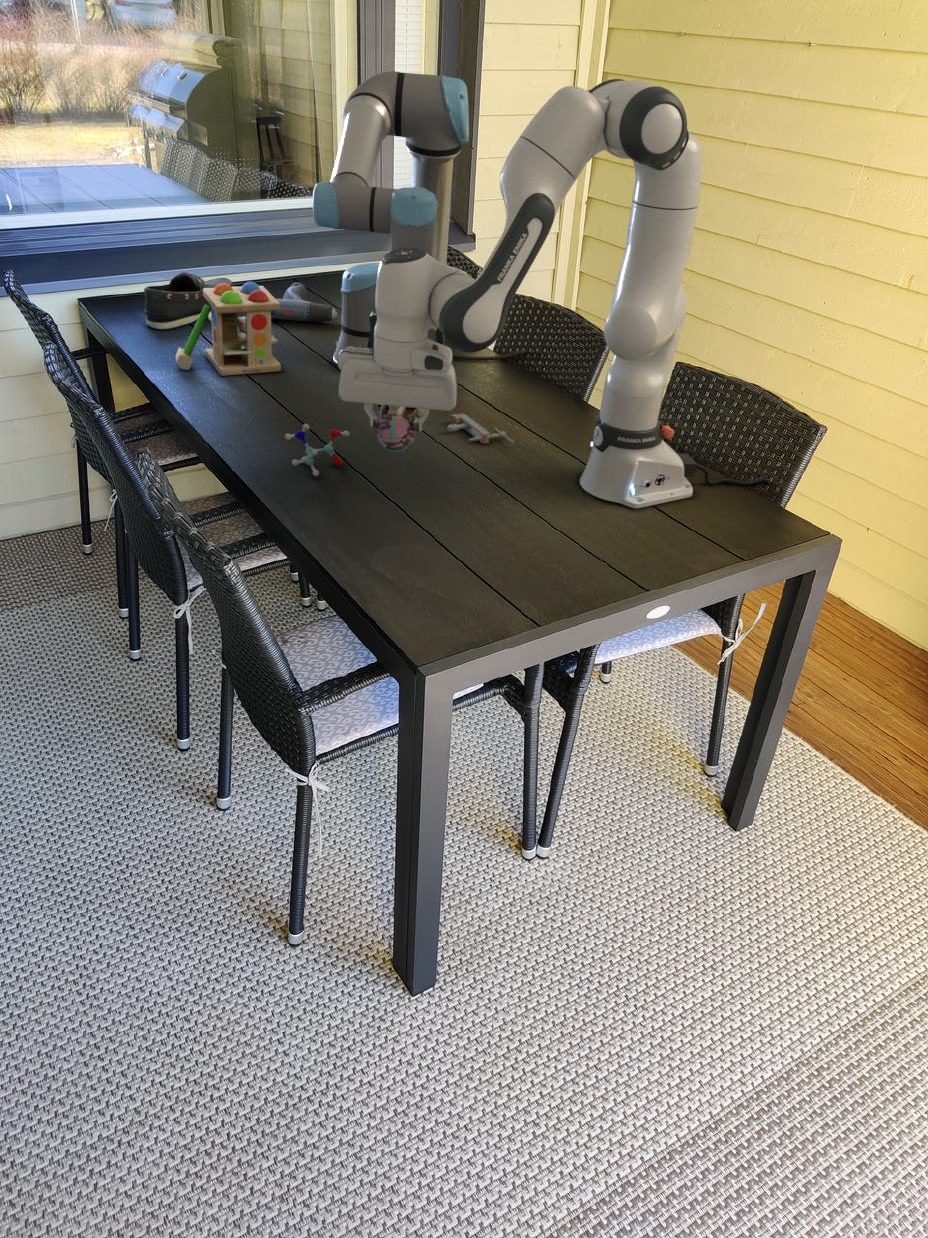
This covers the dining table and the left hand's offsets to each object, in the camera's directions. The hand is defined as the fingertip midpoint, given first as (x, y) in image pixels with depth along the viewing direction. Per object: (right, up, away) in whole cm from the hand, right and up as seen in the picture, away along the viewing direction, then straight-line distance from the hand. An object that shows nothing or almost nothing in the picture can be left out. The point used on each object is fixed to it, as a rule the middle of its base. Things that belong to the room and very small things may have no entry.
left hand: (403, 406), depth 186 cm
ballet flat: (0, -5, -6) cm, 8 cm away
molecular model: (-18, -11, +5) cm, 21 cm away
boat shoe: (-60, +41, +74) cm, 103 cm away
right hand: (0, -7, -14) cm, 16 cm away
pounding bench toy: (-45, +19, +45) cm, 66 cm away
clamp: (+14, -2, +23) cm, 27 cm away
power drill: (-32, +43, +81) cm, 97 cm away
